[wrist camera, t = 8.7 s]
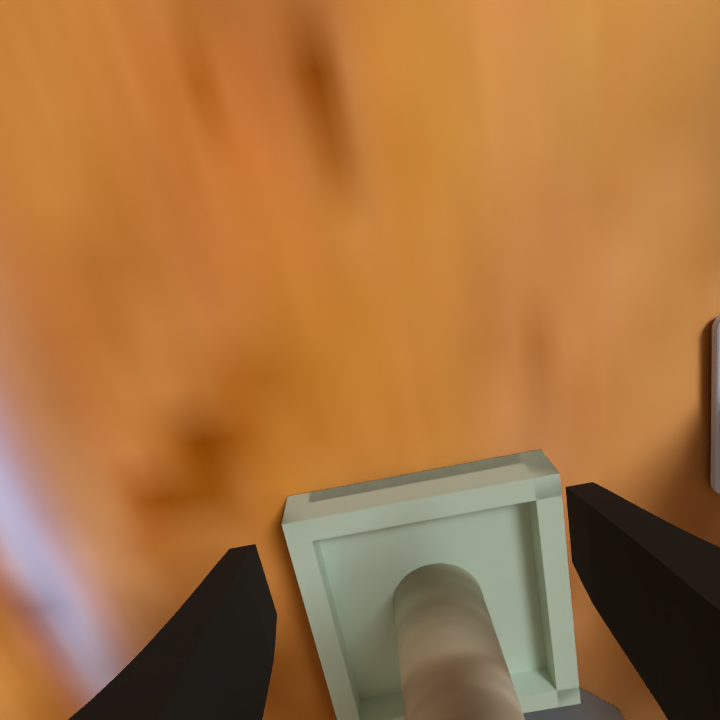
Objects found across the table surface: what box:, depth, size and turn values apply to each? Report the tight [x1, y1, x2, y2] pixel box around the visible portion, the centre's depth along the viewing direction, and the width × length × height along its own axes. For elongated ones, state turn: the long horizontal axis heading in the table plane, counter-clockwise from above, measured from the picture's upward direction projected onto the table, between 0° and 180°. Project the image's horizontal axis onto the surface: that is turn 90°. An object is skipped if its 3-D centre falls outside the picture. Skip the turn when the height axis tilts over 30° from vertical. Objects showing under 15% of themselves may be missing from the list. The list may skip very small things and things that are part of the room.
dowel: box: [393, 563, 525, 720], centre depth 18 cm, size 4×4×9 cm
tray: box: [281, 449, 581, 720], centre depth 22 cm, size 11×12×2 cm
